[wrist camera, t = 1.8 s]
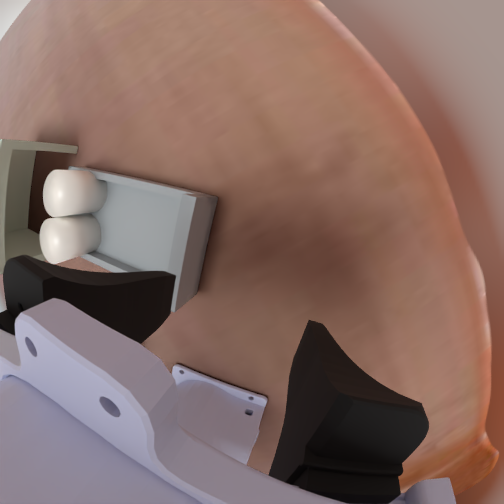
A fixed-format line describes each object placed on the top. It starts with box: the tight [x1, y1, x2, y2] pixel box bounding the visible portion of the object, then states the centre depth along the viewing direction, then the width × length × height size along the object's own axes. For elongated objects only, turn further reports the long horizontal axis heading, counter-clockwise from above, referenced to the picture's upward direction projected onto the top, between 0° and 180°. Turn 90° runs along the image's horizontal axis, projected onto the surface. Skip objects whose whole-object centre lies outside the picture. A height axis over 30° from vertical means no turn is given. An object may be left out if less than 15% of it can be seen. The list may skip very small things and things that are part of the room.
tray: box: [40, 166, 218, 312], centre depth 20 cm, size 15×8×6 cm, turn 75°
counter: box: [0, 139, 78, 274], centre depth 20 cm, size 10×12×10 cm
